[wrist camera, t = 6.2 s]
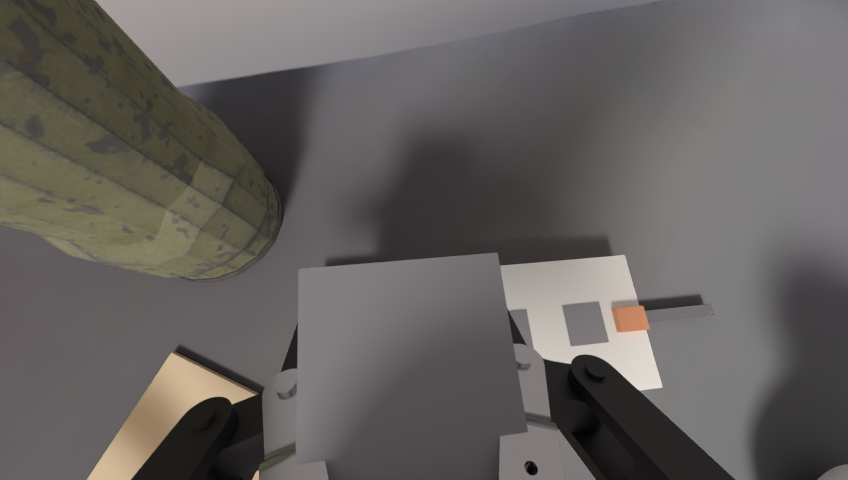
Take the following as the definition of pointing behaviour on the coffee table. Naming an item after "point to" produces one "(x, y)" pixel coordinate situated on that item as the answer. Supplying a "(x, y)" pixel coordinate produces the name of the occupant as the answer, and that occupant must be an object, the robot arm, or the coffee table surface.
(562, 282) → the power strip
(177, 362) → the cork coaster
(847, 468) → the white irregular upright piece
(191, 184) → the thermos
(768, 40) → the coffee table surface
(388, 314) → the block
